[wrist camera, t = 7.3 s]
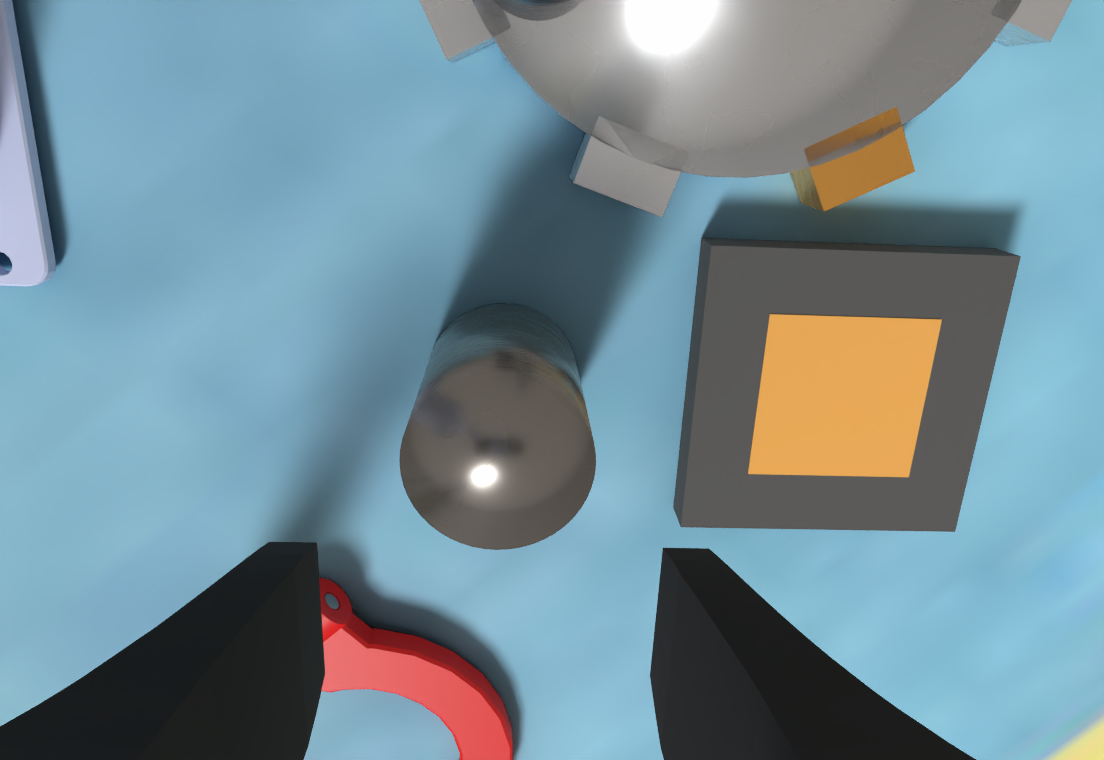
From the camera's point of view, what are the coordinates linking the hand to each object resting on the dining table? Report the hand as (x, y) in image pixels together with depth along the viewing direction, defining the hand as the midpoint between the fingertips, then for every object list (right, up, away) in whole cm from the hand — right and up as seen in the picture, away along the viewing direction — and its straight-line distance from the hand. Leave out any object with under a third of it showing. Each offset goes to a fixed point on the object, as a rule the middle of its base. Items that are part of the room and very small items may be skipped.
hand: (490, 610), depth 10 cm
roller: (0, +3, +9) cm, 9 cm away
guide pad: (+8, +3, +9) cm, 12 cm away
